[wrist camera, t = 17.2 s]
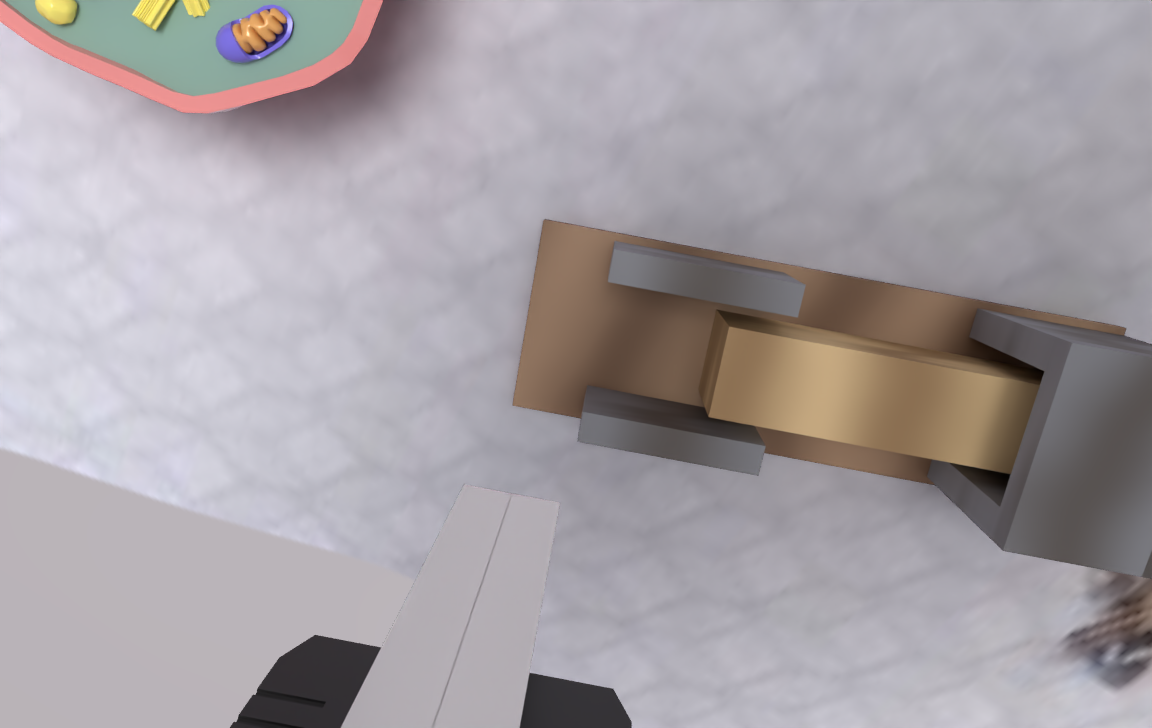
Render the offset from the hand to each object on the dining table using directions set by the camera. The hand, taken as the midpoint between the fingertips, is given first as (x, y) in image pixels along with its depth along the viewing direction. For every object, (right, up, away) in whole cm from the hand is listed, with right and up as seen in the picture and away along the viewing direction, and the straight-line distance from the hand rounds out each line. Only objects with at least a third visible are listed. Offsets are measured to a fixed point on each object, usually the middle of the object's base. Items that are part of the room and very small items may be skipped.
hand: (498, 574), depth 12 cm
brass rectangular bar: (+14, +3, +21) cm, 25 cm away
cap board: (+11, +3, +22) cm, 25 cm away
